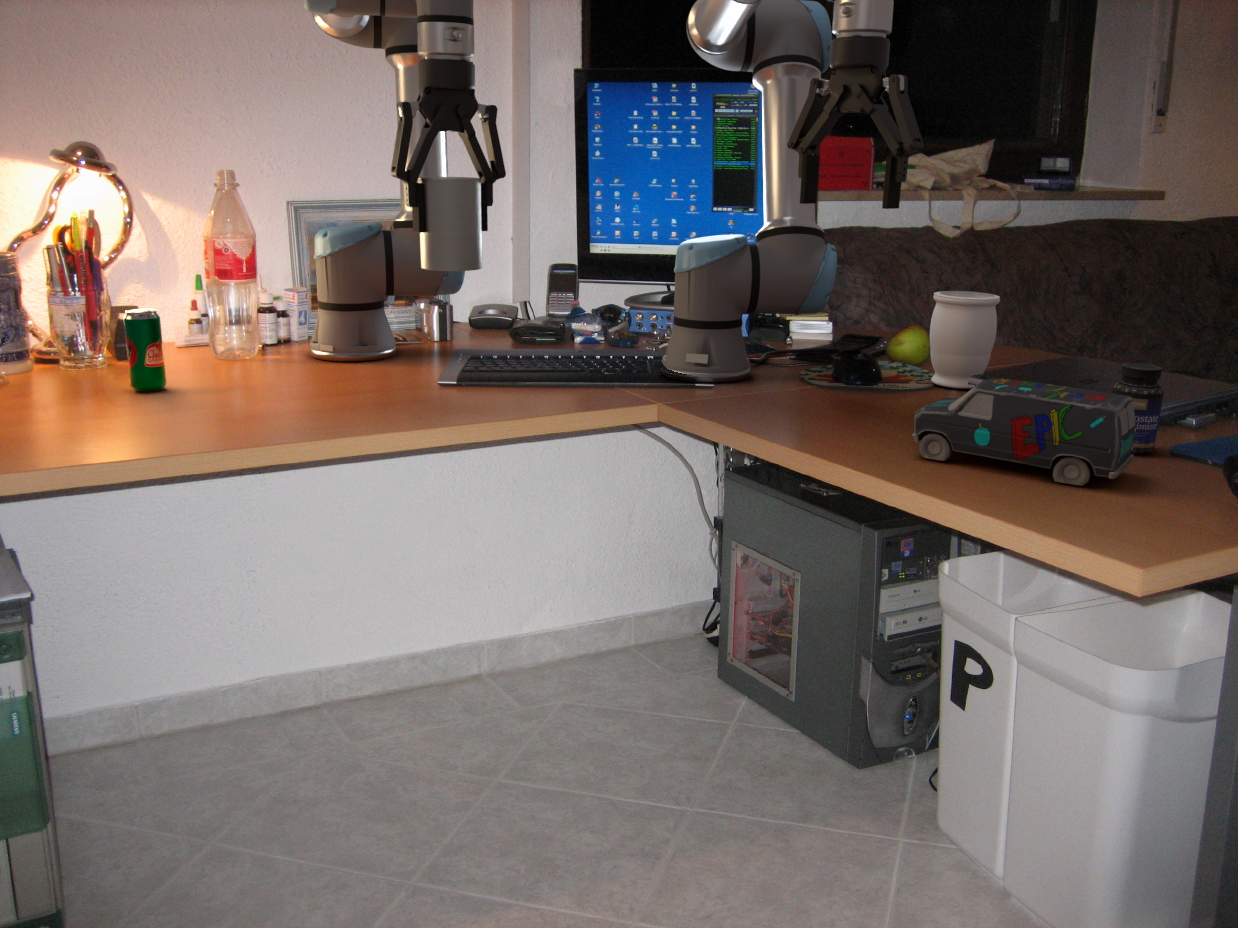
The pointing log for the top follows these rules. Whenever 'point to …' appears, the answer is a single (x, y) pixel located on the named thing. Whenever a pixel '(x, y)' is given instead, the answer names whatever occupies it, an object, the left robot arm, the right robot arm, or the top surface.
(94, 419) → the top surface
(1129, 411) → the toy van
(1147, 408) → the pill bottle
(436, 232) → the can
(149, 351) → the soda can
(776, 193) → the right robot arm
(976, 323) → the jar
